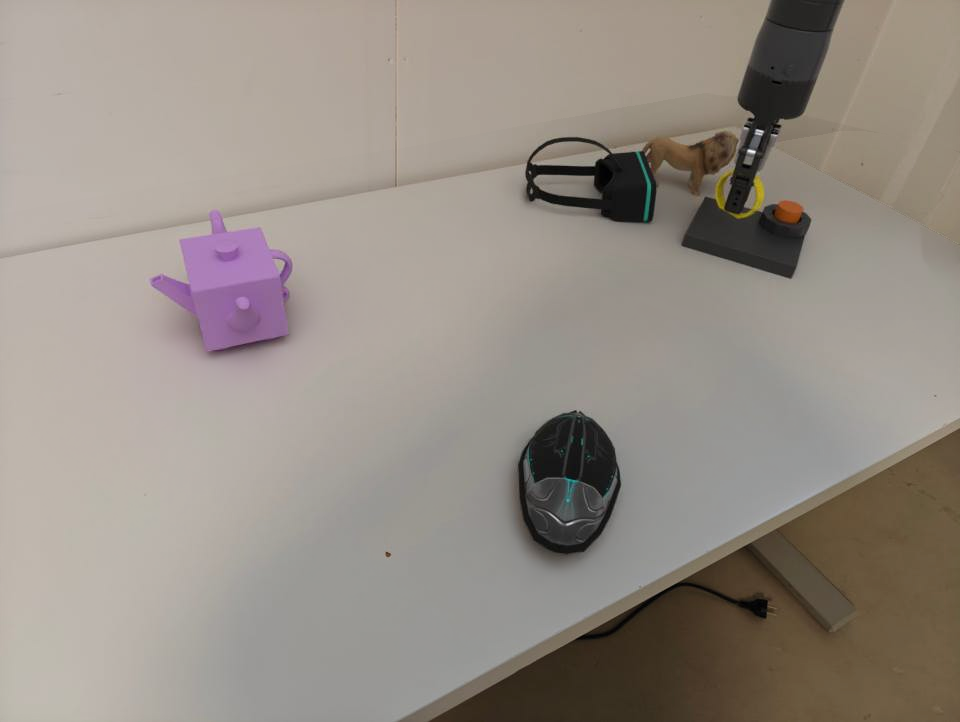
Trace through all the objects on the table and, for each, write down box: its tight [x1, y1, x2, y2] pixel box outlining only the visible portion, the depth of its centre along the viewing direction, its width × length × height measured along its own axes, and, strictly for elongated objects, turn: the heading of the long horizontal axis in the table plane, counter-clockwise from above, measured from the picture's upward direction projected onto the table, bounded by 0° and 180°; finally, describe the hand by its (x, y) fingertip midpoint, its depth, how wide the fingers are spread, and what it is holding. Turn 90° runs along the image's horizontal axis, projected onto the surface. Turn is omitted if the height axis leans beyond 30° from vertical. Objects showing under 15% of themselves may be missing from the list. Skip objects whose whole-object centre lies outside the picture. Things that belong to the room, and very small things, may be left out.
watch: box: [714, 169, 765, 219], centre depth 86 cm, size 6×3×6 cm, turn 40°
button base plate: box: [681, 196, 812, 280], centre depth 91 cm, size 14×13×4 cm
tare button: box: [774, 199, 804, 223], centre depth 90 cm, size 3×3×2 cm
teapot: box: [149, 209, 293, 352], centre depth 68 cm, size 18×13×10 cm
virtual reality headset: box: [524, 136, 658, 222], centre depth 94 cm, size 11×17×10 cm, turn 89°
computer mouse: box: [517, 409, 622, 555], centre depth 57 cm, size 9×17×6 cm, turn 168°
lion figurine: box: [641, 130, 740, 197], centre depth 100 cm, size 15×5×9 cm, turn 79°
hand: (735, 205), depth 87 cm, fingers closed on watch, 2 cm apart
